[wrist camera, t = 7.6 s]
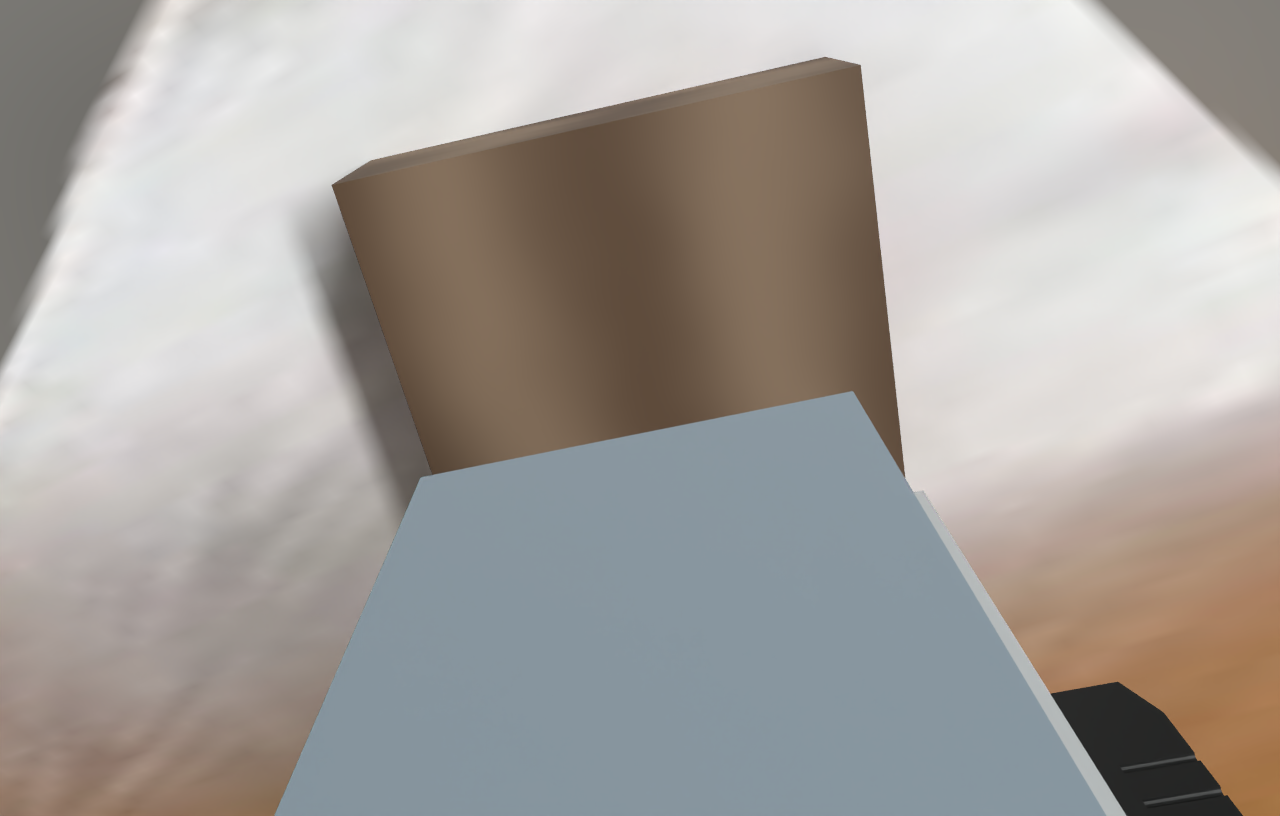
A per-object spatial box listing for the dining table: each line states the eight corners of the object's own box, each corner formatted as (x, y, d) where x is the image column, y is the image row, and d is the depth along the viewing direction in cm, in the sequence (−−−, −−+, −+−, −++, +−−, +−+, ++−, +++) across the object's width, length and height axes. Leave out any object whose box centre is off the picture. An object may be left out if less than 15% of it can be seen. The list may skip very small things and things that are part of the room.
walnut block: (497, 536, 29) (480, 613, 25) (374, 158, 24) (331, 185, 20) (872, 461, 28) (910, 529, 24) (821, 56, 23) (860, 64, 20)
